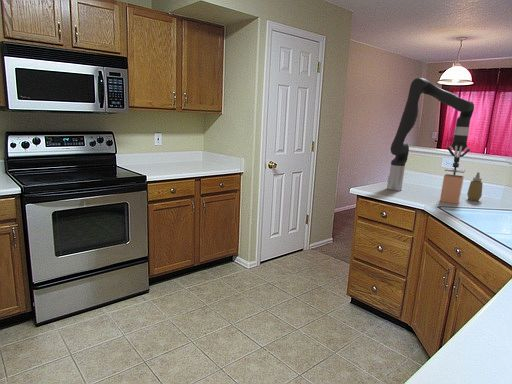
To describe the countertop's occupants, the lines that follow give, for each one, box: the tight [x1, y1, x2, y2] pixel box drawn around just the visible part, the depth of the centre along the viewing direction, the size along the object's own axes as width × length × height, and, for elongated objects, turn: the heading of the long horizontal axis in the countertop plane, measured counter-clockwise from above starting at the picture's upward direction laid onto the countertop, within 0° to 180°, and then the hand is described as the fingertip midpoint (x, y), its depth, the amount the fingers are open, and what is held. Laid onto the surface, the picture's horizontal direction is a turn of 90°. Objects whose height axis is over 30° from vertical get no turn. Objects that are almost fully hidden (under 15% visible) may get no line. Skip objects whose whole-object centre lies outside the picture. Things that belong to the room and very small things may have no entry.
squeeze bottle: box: [466, 172, 483, 202], centre depth 234 cm, size 8×8×18 cm
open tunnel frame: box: [439, 173, 465, 205], centre depth 228 cm, size 10×10×16 cm
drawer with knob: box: [444, 162, 466, 177], centre depth 226 cm, size 10×10×20 cm
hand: (456, 163), depth 224 cm, fingers closed
